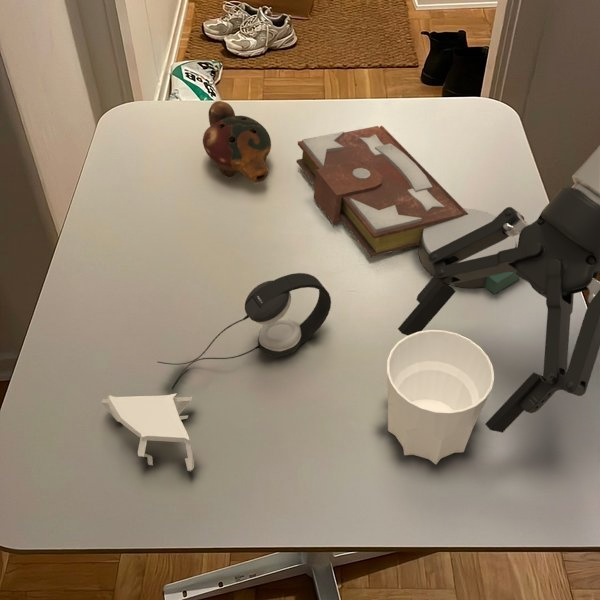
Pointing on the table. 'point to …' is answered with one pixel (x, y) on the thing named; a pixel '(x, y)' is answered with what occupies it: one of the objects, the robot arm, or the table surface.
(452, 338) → the cup
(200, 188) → the table surface
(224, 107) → the ocarina
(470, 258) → the scale
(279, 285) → the headphones
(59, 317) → the table surface
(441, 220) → the book
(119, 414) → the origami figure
